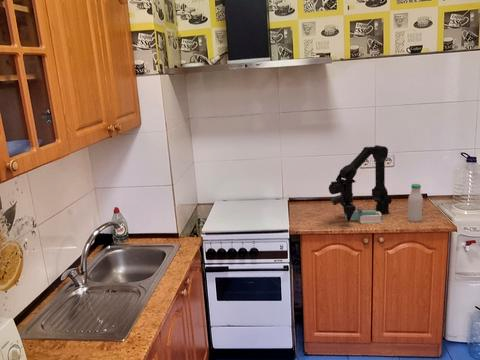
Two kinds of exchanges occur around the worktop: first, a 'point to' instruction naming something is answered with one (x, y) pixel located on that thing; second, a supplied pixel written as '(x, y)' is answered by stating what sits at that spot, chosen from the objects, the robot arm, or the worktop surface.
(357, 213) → the teal square rod
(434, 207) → the worktop surface
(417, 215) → the milk bottle
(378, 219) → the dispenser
